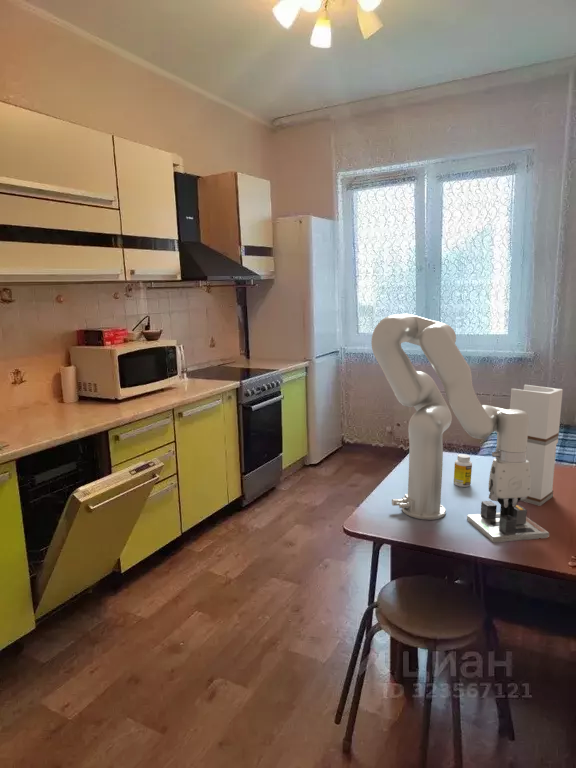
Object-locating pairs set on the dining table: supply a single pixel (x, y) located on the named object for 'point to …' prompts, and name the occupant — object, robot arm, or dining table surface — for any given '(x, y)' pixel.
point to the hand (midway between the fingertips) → (506, 519)
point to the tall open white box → (540, 436)
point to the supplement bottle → (462, 471)
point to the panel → (509, 537)
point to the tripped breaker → (520, 514)
